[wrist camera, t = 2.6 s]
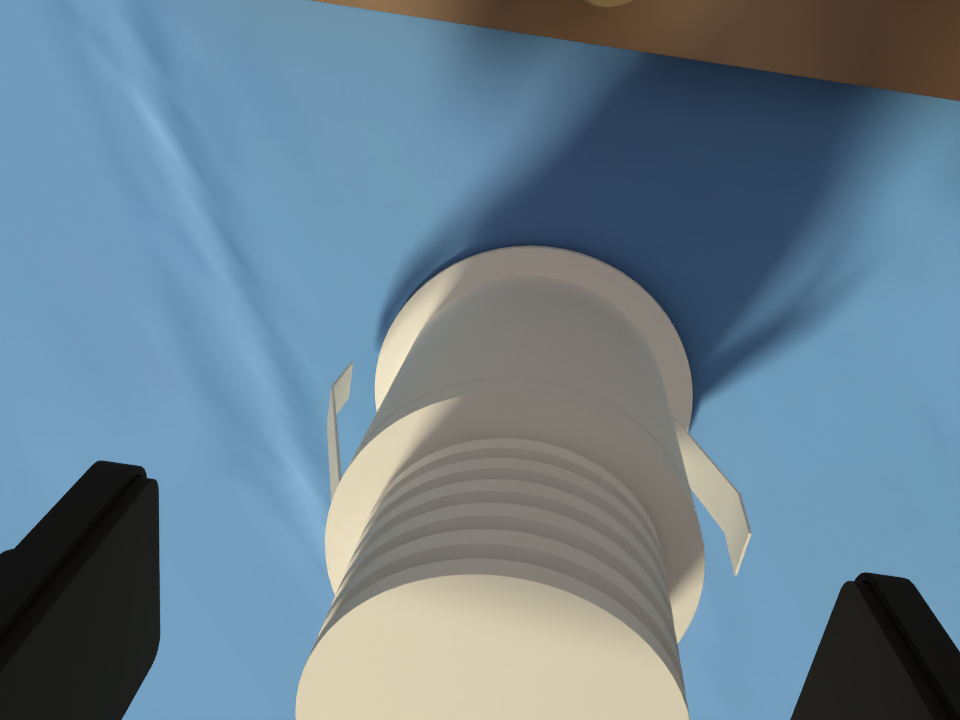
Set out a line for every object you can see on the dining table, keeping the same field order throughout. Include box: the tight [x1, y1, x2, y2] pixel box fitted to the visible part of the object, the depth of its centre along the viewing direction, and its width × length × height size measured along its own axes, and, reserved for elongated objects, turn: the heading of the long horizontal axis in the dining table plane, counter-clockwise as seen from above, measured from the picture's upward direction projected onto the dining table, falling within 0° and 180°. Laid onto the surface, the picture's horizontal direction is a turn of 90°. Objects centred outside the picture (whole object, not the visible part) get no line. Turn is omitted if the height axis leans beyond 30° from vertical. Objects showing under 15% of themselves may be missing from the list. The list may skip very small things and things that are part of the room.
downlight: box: [296, 245, 752, 720], centre depth 14 cm, size 8×7×10 cm
